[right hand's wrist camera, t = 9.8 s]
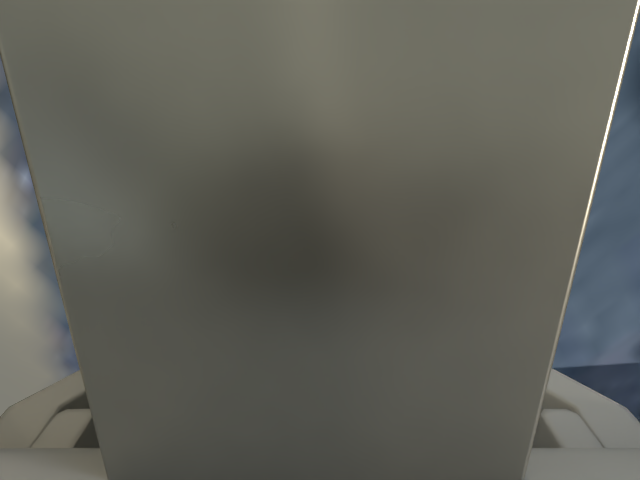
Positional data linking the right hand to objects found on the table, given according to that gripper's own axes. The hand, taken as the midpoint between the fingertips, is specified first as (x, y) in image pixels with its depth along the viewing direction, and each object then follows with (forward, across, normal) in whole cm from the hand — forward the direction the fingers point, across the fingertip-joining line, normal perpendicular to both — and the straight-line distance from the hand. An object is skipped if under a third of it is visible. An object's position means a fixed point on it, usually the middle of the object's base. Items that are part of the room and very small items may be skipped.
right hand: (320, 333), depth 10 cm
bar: (+4, 0, +10) cm, 11 cm away
